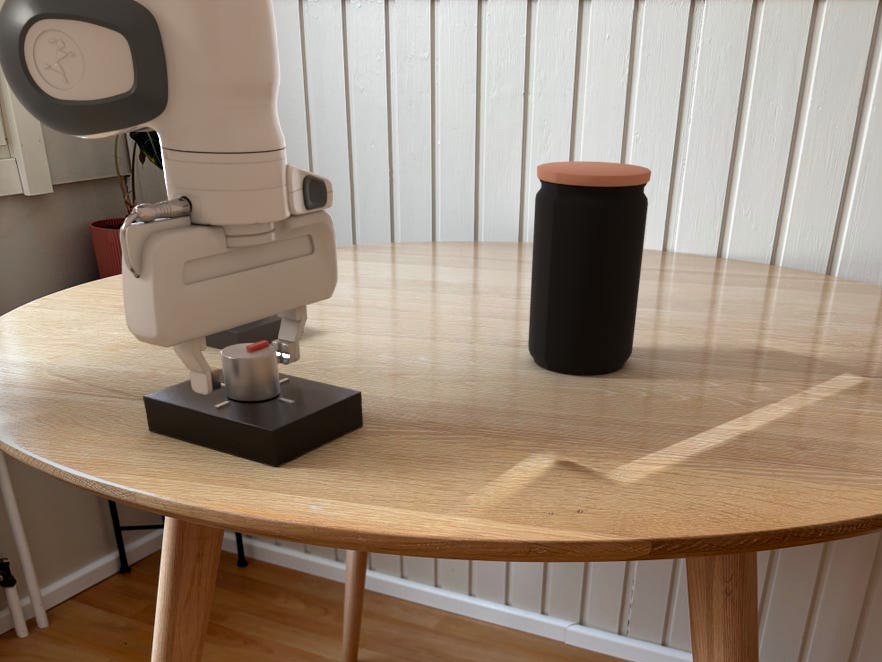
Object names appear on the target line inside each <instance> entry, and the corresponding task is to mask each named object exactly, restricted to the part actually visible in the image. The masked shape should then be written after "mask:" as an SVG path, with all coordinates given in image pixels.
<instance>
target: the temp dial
mask: <svg viewBox="0 0 882 662" xmlns="http://www.w3.org/2000/svg"><path fill="white" fill-rule="evenodd" d="M220 358H221V359H220V361H221V367H222V368H223V375H224V383H225V390H226V395H227V396H228V397H229V398H231V399H234V400H238V401H262V400H267V399H271V398H274V397H276V396H277V395H279V393H280V382H279V373H280V372H279V363H278V362H277V352H276V348H275V347H273V346H272V345H271V344H269V341H265V340H263V341H260V342H257V343H243V344H236V345H231V346H228V347H226V348H224V349H222V350H221V349H220Z"/></svg>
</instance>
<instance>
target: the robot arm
mask: <svg viewBox="0 0 882 662" xmlns="http://www.w3.org/2000/svg"><path fill="white" fill-rule="evenodd" d="M279 50H280V49H279V41H278V32H277V24H276V15H275V8H274V1H273V0H4V1H3V4H2V6H1V8H0V67H1V71H2V73H3V77H4V78H5V80H6V83H7V84H8V87H9V88H10V90H11V91H12V93H13V95H14V96H15V97H16V99H17V101H18V102H19V103H20V104H21V106H22V107H23V108H24V109H25V110H26V111H27V112H28V113H29V114H30V115H31V116H32V117H33V118H34V119H36V120H37V121H38V122H40V123H41V124H43V125H44V126H46V127H47V128H49V129H51V130H54V131H56V132H58V133H61V134H64V135H69V136H72V137H76V138H81V139H102V138H103V139H104V138H107V137H111V136H120V135H124V134H125V135H126V134H128V133H131V132H139V133H146V132H148V133H149V132H153V131H154V132H156V134H157V136H158V138H159V145H160V152H161V159H162V167H163V172H164V173H163V174H164V180H165V181H164V182H165V187H166V195H167V199H166V200H162V201H160V202H157V203H149V202H148V203H141V204H138V205H136V206H134V207H133V208H132V210H131V213H130V214H129V215H128V216H127V217H126V218H125V220H124V221H123V224H122V225H121V226H120V228H119V241H120V247H121V281H122V298H123V307H124V308H123V309H124V316H125V317H124V318H125V323H126V327H127V330H128V331H129V332H130V333H131V335H133V337H134V338H135V339H137V341H139V342H142V343H145V344H149V345H151V346H157V347H161V348H173V351H174V352H175V354H176V355H177V357H178V358H179V360H181V363H183V365H184V367H186V369H187V370H188V373H189V378H190V379H189V380H191V386H192V389H193V390H194V391H195V392H197V393H200V394H204V395H206V394H210V393H212V392H214V391H217V390H219V389H220V388H221V382H220V381H219V379H220V371H219V369H220V368H218V367H215V366H210V364H209V363H208V361H207V360H206V358H205V357H204V355H203V353H202V352H205V351H206V350H207V347H208V346H206V339H205V336H208V335H211V334H214V333H218V332H221V331H224V330H227V329H231V328H234V327H237V326H241V325H244V324H247V323H250V322H254V321H257V320H260V319H264V318H267V317H270V316H273V315H277V316H278V317H282V320H281V325H280V330H279V335H278V339H277V340H274V341H272V343H271V346H273V347H275V348H276V352H277V362H278V364H280V365H281V364H282V365H284V366H288V365H291V364H293V363H296V362H299V361H300V359H301V350H300V341H301V339H302V335H303V333H304V329H305V326H306V323H307V320H308V310H307V309H308V307H307V306H310V305H312V304H316V303H319V302H322V301H326V300H329V299H331V298H332V297H333V295H334V293H335V290H336V287H337V284H338V278H339V266H338V264H339V262H338V246H337V234H336V233H337V232H336V227H335V223H334V219H333V217H332V215H331V214H330V212H328V211H327V209H331V207H332V206H333V204H334V201H335V192H334V183H333V181H332V180H331V179H330V178H328V177H326V176H323V175H320V174H317V173H315V172H312V171H310V170H307V169H304V168H302V167H300V166H297V165H295V164H292V163H289V162H288V155H287V144H286V143H287V142H286V138H285V134H284V132H283V128H282V126H281V122H280V117H279V111H278V110H279V109H278V108H279V107H278V97H279V90H280V86H281V63H280V61H281V60H280V51H279ZM134 221H136V222H134ZM133 222H134V223H133Z"/></svg>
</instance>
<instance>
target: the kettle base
mask: <svg viewBox="0 0 882 662" xmlns="http://www.w3.org/2000/svg"><path fill="white" fill-rule="evenodd" d="M281 320H282V317H278V316H277V315H273V316H270V317H267V318H264V319H260V320H257V321H254V322H250V323H247V324H244V325H241V326H237V327H234V328H231V329H227V330H224V331H221V332H218V333H214V334H211V335H208V336H205V339H206V347H209V348H212V349H218V350H220V351H221V350H222V349H224V348H226V347H228V346H231V345H236V344H243V343H257V342H260V341H263V340H265V341H269V345H272V341H274V340H277V339H278V335H279V330H280V325H281Z"/></svg>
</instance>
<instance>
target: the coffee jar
mask: <svg viewBox="0 0 882 662" xmlns="http://www.w3.org/2000/svg"><path fill="white" fill-rule="evenodd" d="M536 176H537V179H538V180H539V182H540V188H539V190H538V191H537V192H536V193H535V198H534V216H533V218H534V219H533V235H532V236H533V239H532V241H533V242H532V258H531V259H532V260H531V279H530V280H531V281H530V301H529V303H530V304H529V321H528V322H529V323H528V340H527V341H528V343H527V346H528V352H529V355H530V356H531V357H532V359H533V362H534V363H535V364H536V365H537V366H539V367H540V368H543V369H545V370H548V371H551V372H555V373H560V374H566V375H575V376H576V375H577V376H592V375H593V376H595V375H605V374H609V372H610V373H614V372H616V371H618V370H620V368H621V369H622V368H623V367H624V366H625V364H626V362H627V361H628V360H629V358H630V357H631V355H632V353H633V346H634V338H635V328H636V319H637V310H638V302H639V301H638V299H639V291H640V282H641V274H642V273H641V272H642V263H643V253H644V245H645V244H644V243H645V236H646V225H647V217H648V207H649V200H648V197H647V195H646V194H645V187H646V186H647V185H648V183H649V182H650V181H651V177H652V171H651V170H650V168H648V167H644V166H641V165H636V164H630V163H619V162H609V161H583V160H582V161H581V160H579V161H577V160H576V161H575V160H573V161H555V162H553V161H551V162H546V163H542V164H539V165H537V166H536ZM613 371H614V372H613Z"/></svg>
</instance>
